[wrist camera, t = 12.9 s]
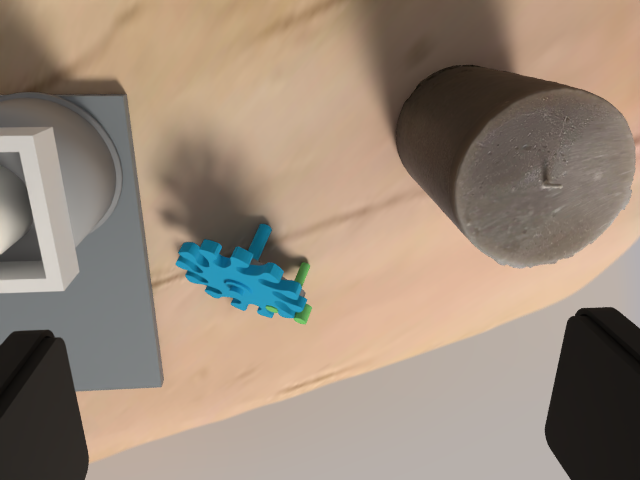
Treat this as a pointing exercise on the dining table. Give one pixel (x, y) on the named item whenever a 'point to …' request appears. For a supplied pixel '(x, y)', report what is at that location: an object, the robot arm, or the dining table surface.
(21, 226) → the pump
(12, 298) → the motor stand
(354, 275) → the dining table surface
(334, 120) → the dining table surface
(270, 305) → the gear
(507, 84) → the pillar candle
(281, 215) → the dining table surface
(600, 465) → the robot arm
